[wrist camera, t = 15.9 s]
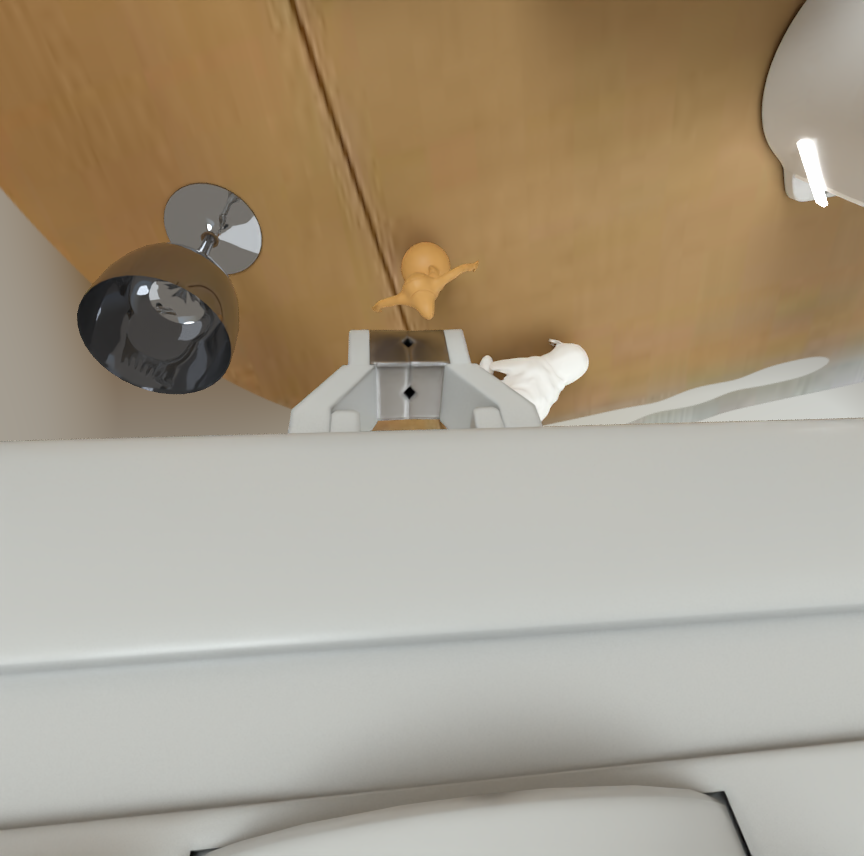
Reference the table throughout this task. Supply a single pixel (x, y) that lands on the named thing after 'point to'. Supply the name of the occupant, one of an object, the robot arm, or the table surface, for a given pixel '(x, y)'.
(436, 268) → the figurine
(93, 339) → the wine glass
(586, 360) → the white seated statue
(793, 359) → the table surface
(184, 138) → the table surface
